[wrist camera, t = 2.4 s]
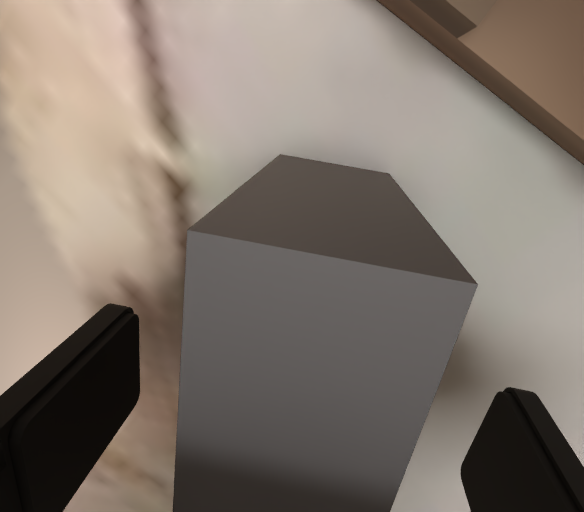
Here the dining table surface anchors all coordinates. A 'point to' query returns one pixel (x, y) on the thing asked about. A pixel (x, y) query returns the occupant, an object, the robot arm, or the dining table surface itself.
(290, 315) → the picture frame
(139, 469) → the dining table surface
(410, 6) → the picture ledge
